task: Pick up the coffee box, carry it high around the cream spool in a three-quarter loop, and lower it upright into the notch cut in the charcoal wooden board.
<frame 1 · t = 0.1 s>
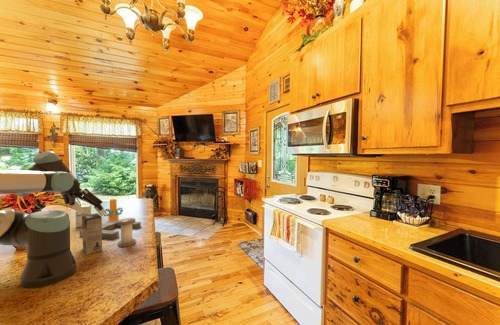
hand: (92, 213, 110), 15 cm above the counter, tool tilted 35°, fingers open, 13 cm apart
coffee box: (92, 249, 102), on the counter
supplement box: (83, 225, 139), on the counter
spool: (126, 243, 109), on the counter
grey orange looped piece: (113, 221, 147), on the counter
notched board: (112, 231, 127), on the counter
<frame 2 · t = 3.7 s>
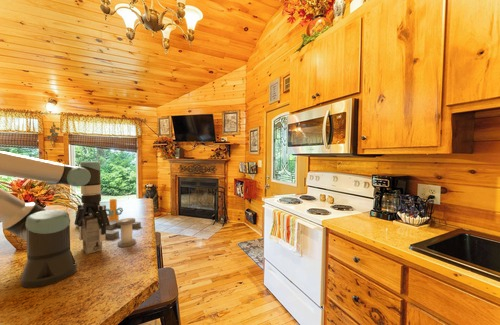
hand: (92, 240, 102), 4 cm above the counter, tool pointing down, fingers closed on coffee box, 10 cm apart
coffee box: (92, 249, 102), on the counter, touching gripper
everything else where it was.
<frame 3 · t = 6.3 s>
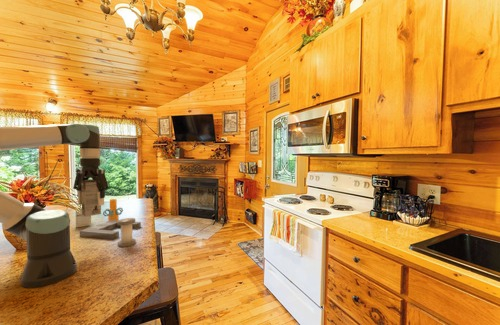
hand: (91, 204, 102), 21 cm above the counter, tool pointing down, fingers closed on coffee box, 10 cm apart
coffee box: (91, 214, 102), point 17 cm above the counter, touching gripper
everything else where it was.
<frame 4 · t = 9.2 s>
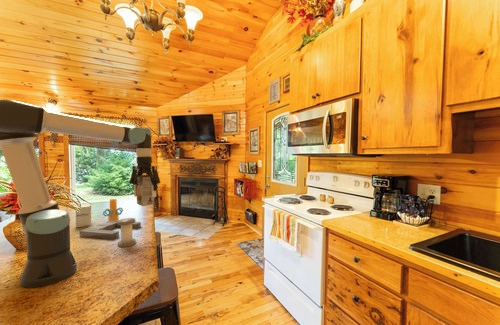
hand: (145, 196, 118), 22 cm above the counter, tool pointing down, fingers closed on coffee box, 10 cm apart
coffee box: (145, 204, 118), point 18 cm above the counter, touching gripper
everything else where it was.
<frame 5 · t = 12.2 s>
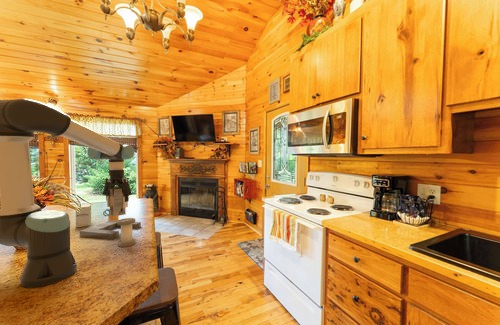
hand: (117, 206, 126), 15 cm above the counter, tool pointing down, fingers closed on coffee box, 10 cm apart
coffee box: (117, 214, 126), point 10 cm above the counter, touching gripper
everything else where it was.
when the fingers open (6 cm above the counter, at t = 14.7 s): coffee box drops 1 cm, on the counter.
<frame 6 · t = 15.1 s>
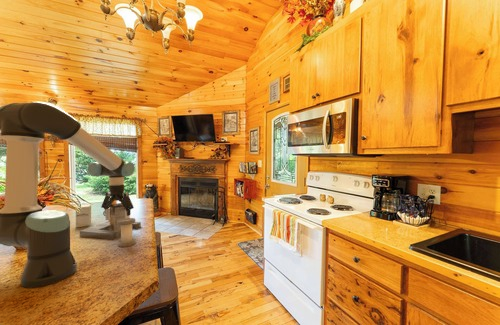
hand: (117, 220, 126), 7 cm above the counter, tool pointing down, fingers open, 13 cm apart
coffee box: (118, 232, 126), on the counter
everything else where it was.
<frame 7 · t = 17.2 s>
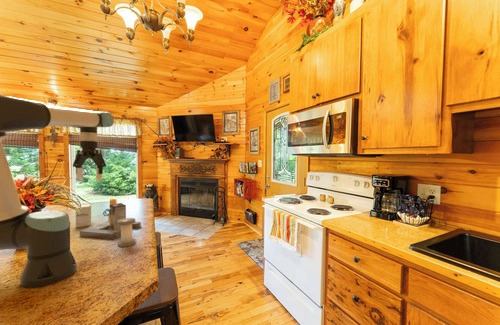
hand: (89, 180, 117), 32 cm above the counter, tool pointing down, fingers open, 13 cm apart
nothing on the counter moved.
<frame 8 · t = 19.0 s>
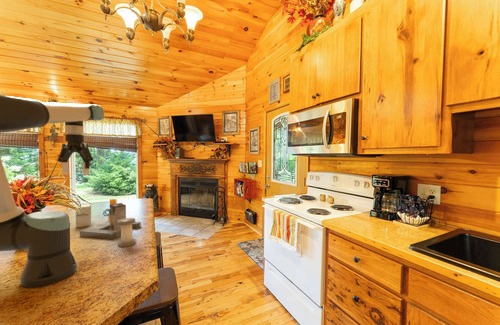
hand: (75, 174, 113), 35 cm above the counter, tool pointing down, fingers open, 13 cm apart
nothing on the counter moved.
at the end: coffee box 0.2 cm from the target spot on the notched board, point 0.0 cm above the notched board's base; coffee box tilted 0°; the gripper is holding nothing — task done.
